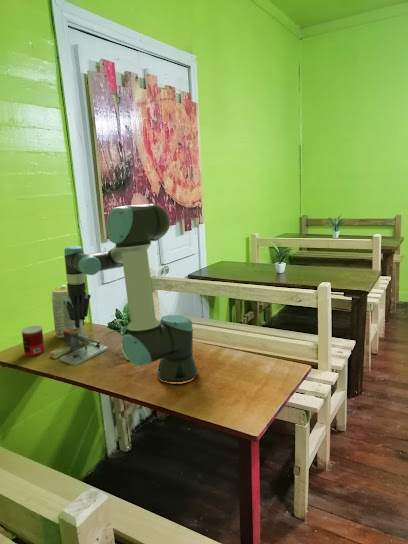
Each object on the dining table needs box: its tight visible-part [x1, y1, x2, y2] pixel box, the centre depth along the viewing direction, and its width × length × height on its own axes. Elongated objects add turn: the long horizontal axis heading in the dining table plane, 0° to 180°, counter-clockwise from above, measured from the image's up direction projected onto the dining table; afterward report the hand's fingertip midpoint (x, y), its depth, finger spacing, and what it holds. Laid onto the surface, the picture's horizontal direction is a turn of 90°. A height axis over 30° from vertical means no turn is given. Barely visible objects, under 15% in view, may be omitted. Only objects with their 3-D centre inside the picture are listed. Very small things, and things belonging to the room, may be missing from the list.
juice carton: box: [51, 284, 77, 339], centre depth 186 cm, size 9×8×24 cm
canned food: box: [21, 325, 45, 358], centre depth 169 cm, size 8×8×11 cm
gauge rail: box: [49, 333, 102, 359], centre depth 171 cm, size 13×18×4 cm
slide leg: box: [63, 328, 90, 352], centre depth 171 cm, size 13×4×8 cm, turn 57°
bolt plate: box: [59, 342, 109, 367], centre depth 169 cm, size 9×18×1 cm, turn 147°
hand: (80, 333), depth 177 cm, fingers closed
